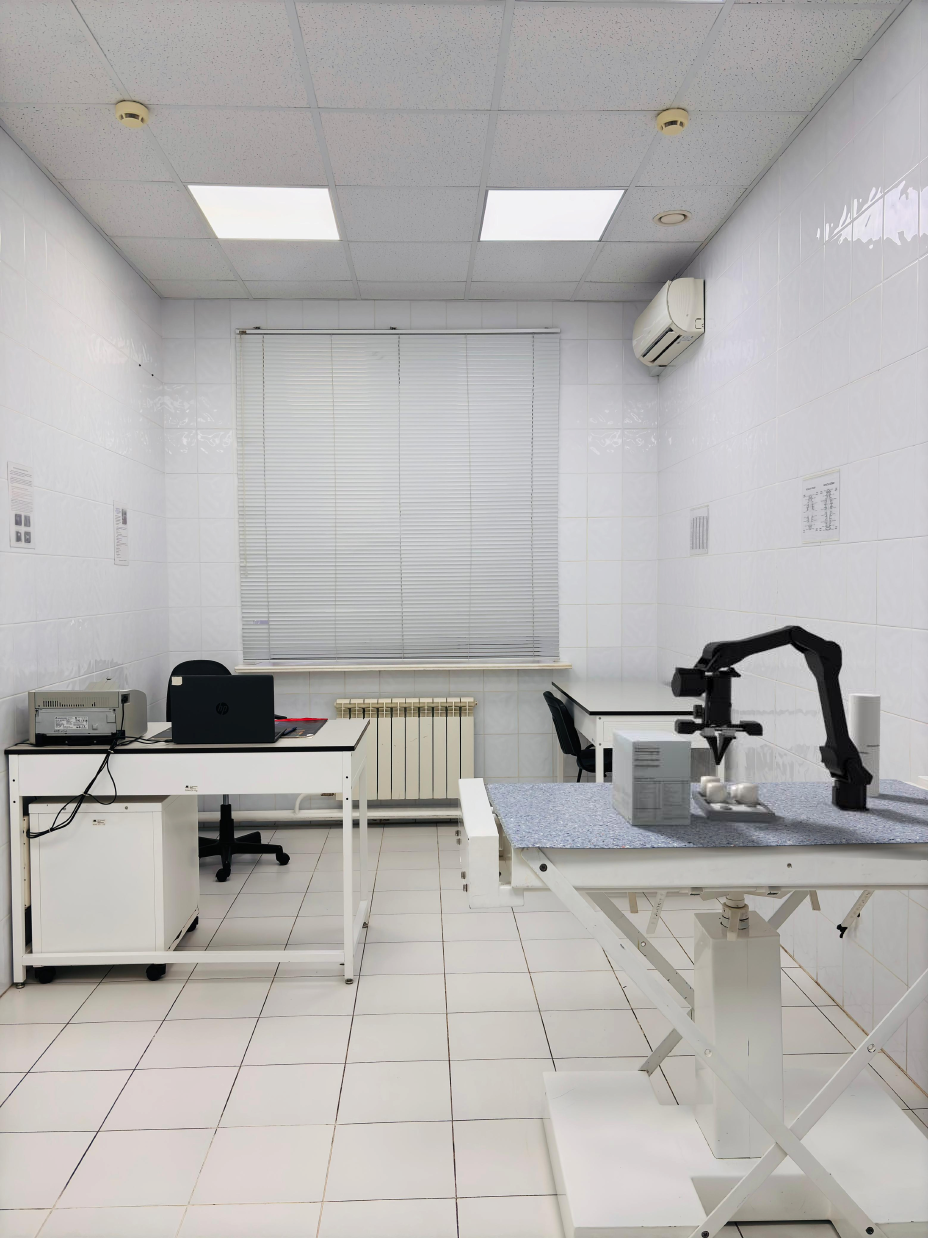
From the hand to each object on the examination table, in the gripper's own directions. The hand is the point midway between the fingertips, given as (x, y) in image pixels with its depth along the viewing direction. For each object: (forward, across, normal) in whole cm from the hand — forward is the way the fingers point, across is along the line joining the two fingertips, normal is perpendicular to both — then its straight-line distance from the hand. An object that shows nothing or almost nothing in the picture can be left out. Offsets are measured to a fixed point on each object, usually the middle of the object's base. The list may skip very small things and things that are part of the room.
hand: (717, 765), depth 185 cm
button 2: (+8, 0, 0) cm, 8 cm away
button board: (+10, -3, -1) cm, 11 cm away
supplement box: (+11, +16, +7) cm, 21 cm away
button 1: (+8, 0, -7) cm, 11 cm away
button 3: (+10, -7, -7) cm, 14 cm away
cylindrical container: (+11, -41, -23) cm, 48 cm away
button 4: (+8, -7, 0) cm, 11 cm away
